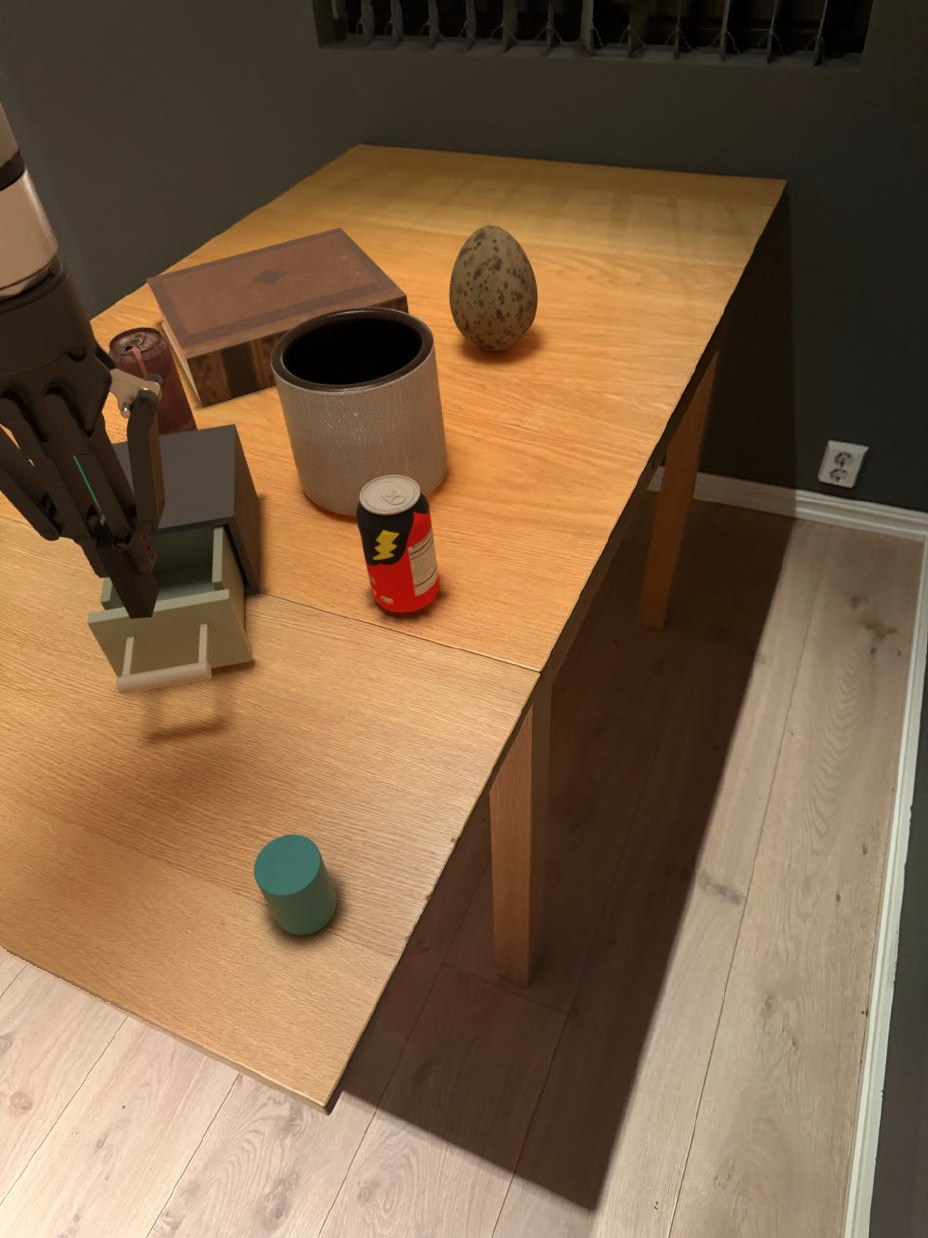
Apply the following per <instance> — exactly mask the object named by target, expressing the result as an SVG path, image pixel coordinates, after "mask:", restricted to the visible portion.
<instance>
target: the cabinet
mask: <svg viewBox="0 0 928 1238" xmlns="http://www.w3.org/2000/svg"><path fill="white" fill-rule="evenodd" d="M159 439H160V449H161V459H162V470H163V480H164V490H165V500H166V502H165V506H164V510H163V513H162V516H161V520H160V523H159V526H158V529H157V530H156V531H154V532H147V534H148V536H149V537H152V536H158V535H164V534H169V533H175V532H181V531H187V530H193V529H199V528H205V527H211V526H217V525H223V524H228V526H229V529H230V532H231V535H232V538H233V541H234V544H235V547H236V549H237V552H238V555H239V558H240V561H241V564H242V567H243V569H244V597H245V596H249V595H254V594H260V593H261V563H260V562H261V560H260V559H261V558H260V556H261V555H260V518H259V517H260V514H259V513H260V512H259V497H258V493H257V491H256V488H255V487H256V486H255V484H254V481H253V478H252V475H251V471H250V467H249V464H248V461H247V458H246V454H245V451H244V448H243V445H242V442H241V438H240V435H239V432H238V428H237V426H236V423H231V424H226V425H225V424H224V425H221V426H213V427H207V428H201V429H198V430H194V431H188V432H181V433H175V434H169V435H163V436H159ZM111 444H112V446H113V448H114V450H115V453H116V455H117V457H118V459H119V462H120V464H121V466H122V468H123V471H124V473H125V475H126V478H127V480H128V482H129V484H130V487H131V489H132V491H133V493H134V488H133V481H132V473H131V465H130V458H129V450H128V442H127V440H126V441H121V442H114V443H111ZM96 504H97V507H99V505H98V502H97V501H96ZM99 511H101V509H99ZM105 520H106V519H105V517H104V515H103V514H102V517H101V520H100V522H101V524H102V526H103V524H104V521H105Z"/></svg>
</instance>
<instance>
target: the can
mask: <svg viewBox="0 0 928 1238" xmlns="http://www.w3.org/2000/svg"><path fill="white" fill-rule="evenodd" d="M168 341H169V340H167V338H166V337H165V335H163V333H161V331H160V330H159V329H157V328H155V327H149V326H142V327H141V326H139V327H134V328H130V329H127V330H124V331H122V332H120V333H118V334H116V335H115V336H114V337H112V338H111V340H110V341H109V343H108V348H109V349H108V350H109V351H108V353H109V354H110V356H111V357H112V358H113V360H114V362H115V365H116V369H119V370H121V371H124V372H126V373H129V374H131V375H134V376H136V377H138V378H141V379H143V378H144V377H145V375H147V374H152V373H153V374H157V375H159V376H160V377H161V378H162V379H163V380H164V383H165V387H164V390H163V393H162V396H161V399H160V402H159V404H158V407H157V419H158V429H159V436H163V435H169V434H175V433H181V432H188V431H194V430H199V428H198V426H197V422H196V420H195V417H194V414H193V411H192V407H191V405H190V402H189V399H188V396H187V393H186V391H185V388H184V386H183V382H182V378H181V377H180V374H179V371H178V368H177V365H176V362H175V359H174V356H173V352H172V350H171V347H170V345H169V342H168Z"/></svg>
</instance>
